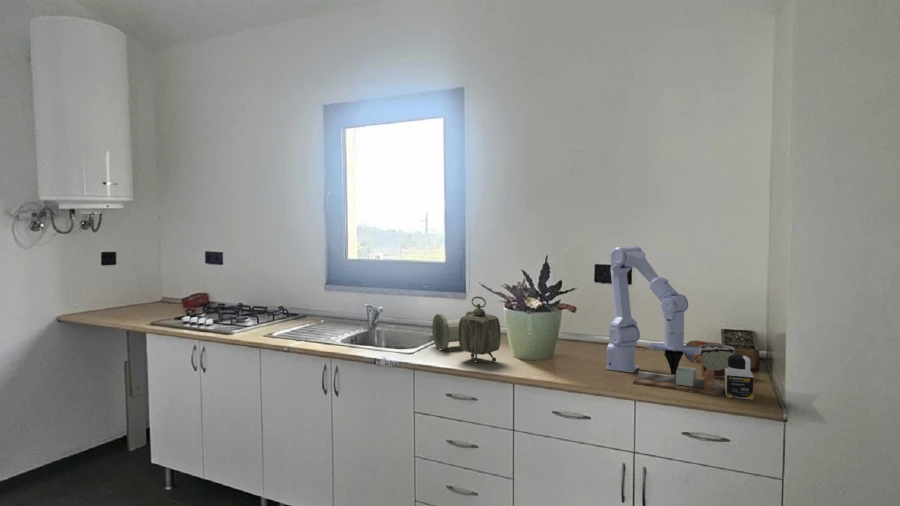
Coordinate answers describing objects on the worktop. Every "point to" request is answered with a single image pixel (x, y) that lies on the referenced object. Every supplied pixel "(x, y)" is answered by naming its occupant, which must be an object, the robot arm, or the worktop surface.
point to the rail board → (670, 382)
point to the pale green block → (685, 376)
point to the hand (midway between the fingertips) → (673, 373)
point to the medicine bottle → (739, 377)
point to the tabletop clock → (479, 332)
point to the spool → (445, 330)
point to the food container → (715, 358)
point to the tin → (697, 344)
